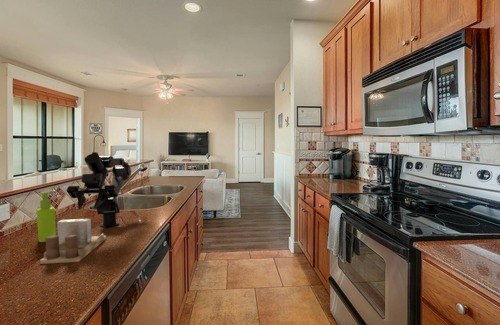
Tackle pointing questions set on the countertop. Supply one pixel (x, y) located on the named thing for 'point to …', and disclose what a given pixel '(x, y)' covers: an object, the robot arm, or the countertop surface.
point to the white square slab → (75, 231)
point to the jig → (68, 249)
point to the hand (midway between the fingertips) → (87, 208)
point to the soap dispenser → (46, 218)
